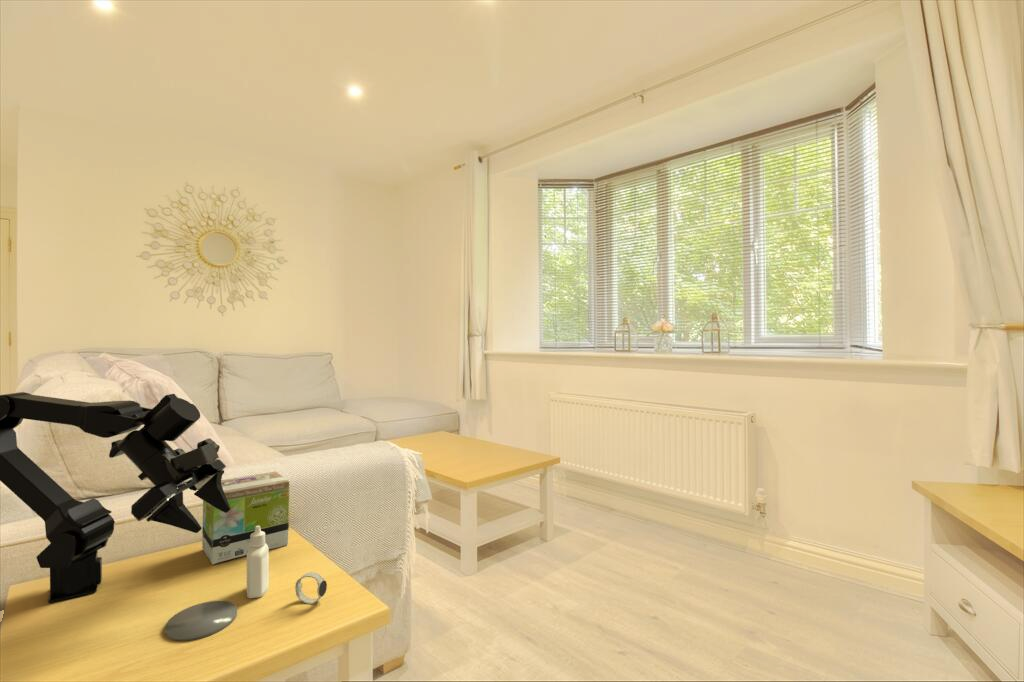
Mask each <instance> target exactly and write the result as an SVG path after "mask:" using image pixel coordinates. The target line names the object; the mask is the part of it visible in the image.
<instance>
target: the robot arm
mask: <svg viewBox="0 0 1024 682" xmlns="http://www.w3.org/2000/svg"><path fill="white" fill-rule="evenodd" d="M200 418H201V412H200V410H199V409H198V407H197V406H196V405H195V404H194V403H191V402H190V401H189V400H186V399H183V398H181V397H178V396H177V395H176V394H175V393H170V394H166V395H164V396H163V397H162V398H161V399H160V400H159V402H158V403H157V404H155V406H154V407H152V408H148V407H143V406H141V404H140V403H139V402H137V401H135V400H113V401H111V400H109V401H100V402H99V401H98V402H89V401H80V400H74V399H73V400H72V399H66V398H59V397H51V396H44V395H37V394H31V393H29V392H24V391H20V392H13V393H5V394H0V482H1V483H2V484H3V485H4V486H6V488H7V489H9V491H11V492H12V493H13V494H14V495H16V496H17V497H18V498H19V500H21V501H22V502H23V503H25V505H26V506H27V507H28V508H30V509H31V511H33V512H34V513H35V514H36V515H37V516H39V518H41V519H42V521H44V529H45V537H46V539H47V540H48V542H49V544H48V545H47V546H46V547H45V548H44V549H43V550H42V551H41V552H39V554H37V555H36V560H37V563H38V566H39V567H40V569H49V596H48V599H47V603H48V604H50V603H55V602H60V601H64V600H68V599H72V598H76V597H81V596H84V595H90V594H93V593H94V594H95V593H96V592H97V591H98V587H99V585H101V584H102V580H103V558H102V557H101V556H98V555H99V554H98V553H99V550H101V549H103V548H105V547H106V546H107V543H108V541H109V539H110V537H111V536H112V535H113V534H114V530H115V524H116V522H115V519H114V518H113V516H112V515H111V513H112V510H109V509H107V508H105V507H104V505H102V504H101V501H99V500H98V499H97V498H91V499H89V500H86V501H80V500H76V499H75V498H74V497H73V496H72V495H71V494H69V493H68V492H67V491H66V490H65V489H64V488H63V487H62V486H60V485H59V483H58V482H56V480H54V479H53V478H51V476H50V475H48V473H47V472H45V471H44V469H42V468H41V467H40V466H39V465H37V464H36V462H34V461H33V460H32V459H31V458H30V457H29V456H28V455H27V454H26V453H24V451H22V450H21V449H20V448H19V446H18V441H17V439H18V438H17V433H16V431H15V430H14V429H15V428H17V427H18V426H19V425H20V424H22V422H23V420H31V421H36V422H37V421H38V422H45V423H54V424H59V425H67V426H74V427H77V428H79V429H80V430H82V432H84V433H85V434H89V435H93V436H96V437H99V438H102V439H107V438H111V437H116V436H118V435H122V434H126V433H128V434H127V435H126V436H124V437H123V438H122V439H117V440H115V441H111V443H110V444H111V447H110V450H109V454H108V457H109V458H111V459H112V458H116V457H119V456H122V455H125V456H126V457H127V459H129V461H130V462H132V463H133V465H135V466H136V467H137V468H138V470H139V471H140V472H141V473H140V474H139V475H138V476H137V478H139V480H140V481H144V480H146V479H148V480H149V481H150V483H152V484H153V485H154V486H152V487H151V488H150V489H148V490H147V491H146V492H145V493H144V494H143V495H142V496H141V497H140V498H138V500H135V502H134V503H133V504H131V510H130V514H131V515H132V516H133V517H134V518H135V519H136V520H137V521H138V522H141V521H142V520H144V519H145V521H146V522H152V521H153V522H157V523H160V524H164V525H169V526H172V527H175V528H179V529H182V530H185V531H189V532H190V533H191V532H192V533H195V534H197V533H199V532H200V531H201V530H202V529H203V528H202V526H201V525H200V523H199V521H198V520H197V519H196V517H195V516H194V515H193V514H192V512H191V511H190V510H189V508H188V507H187V506H186V505H185V503H184V491H186V490H188V489H189V490H191V491H194V493H193V495H194V496H195V497H197V498H199V499H200V500H202V501H203V500H204V501H206V502H207V503H209V504H210V505H212V506H214V507H215V508H217V509H219V510H221V511H223V512H225V513H227V512H228V511H229V510H230V509H231V508H230V506H229V503H228V501H227V498H226V496H225V493H224V491H223V488H222V485H221V480H223V475H224V474H225V470H224V469H225V468H227V466H226V465H225V463H224V462H223V461H222V460H221V459H219V458H220V457H219V454H218V453H219V450H220V448H221V446H220V444H217V442H216V441H214V440H213V439H212V438H209V437H208V438H206V439H203V440H202V441H199V442H197V443H196V444H197V445H196V448H195V449H193V450H190V451H187V452H186V451H184V449H183V448H176V449H173V448H172V447H171V446H170V445H169V443H167V442H173V441H176V440H177V439H179V437H181V436H182V435H183V434H184V433H185V432H186V431H188V429H190V428H191V426H193V425H194V424H195V423H196V422H197V421H198V420H200ZM143 425H144V426H143ZM141 426H142V427H141Z"/></svg>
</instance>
